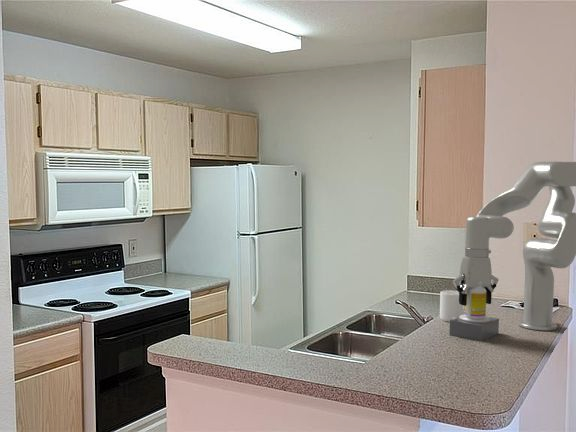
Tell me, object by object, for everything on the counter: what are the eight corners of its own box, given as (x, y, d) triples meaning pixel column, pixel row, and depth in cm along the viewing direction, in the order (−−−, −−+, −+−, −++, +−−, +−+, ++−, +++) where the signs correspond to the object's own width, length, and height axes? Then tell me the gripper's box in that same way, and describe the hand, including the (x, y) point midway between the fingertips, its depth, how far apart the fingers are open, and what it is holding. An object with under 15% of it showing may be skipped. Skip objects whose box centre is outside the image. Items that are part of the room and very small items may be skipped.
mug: (456, 315, 224) (457, 288, 223) (474, 319, 217) (475, 292, 216) (434, 318, 217) (435, 291, 217) (452, 323, 210) (452, 295, 210)
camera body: (467, 327, 205) (468, 311, 205) (498, 333, 198) (499, 316, 197) (449, 334, 195) (449, 317, 194) (481, 341, 187) (481, 323, 187)
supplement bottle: (489, 318, 194) (491, 280, 194) (475, 320, 191) (476, 282, 191) (474, 314, 200) (476, 277, 200) (460, 316, 197) (461, 278, 196)
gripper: (491, 251, 201) (489, 300, 202) (448, 252, 195) (446, 303, 196) (505, 254, 194) (504, 305, 195) (461, 255, 188) (459, 307, 189)
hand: (475, 304), depth 196 cm, fingers open, 9 cm apart
